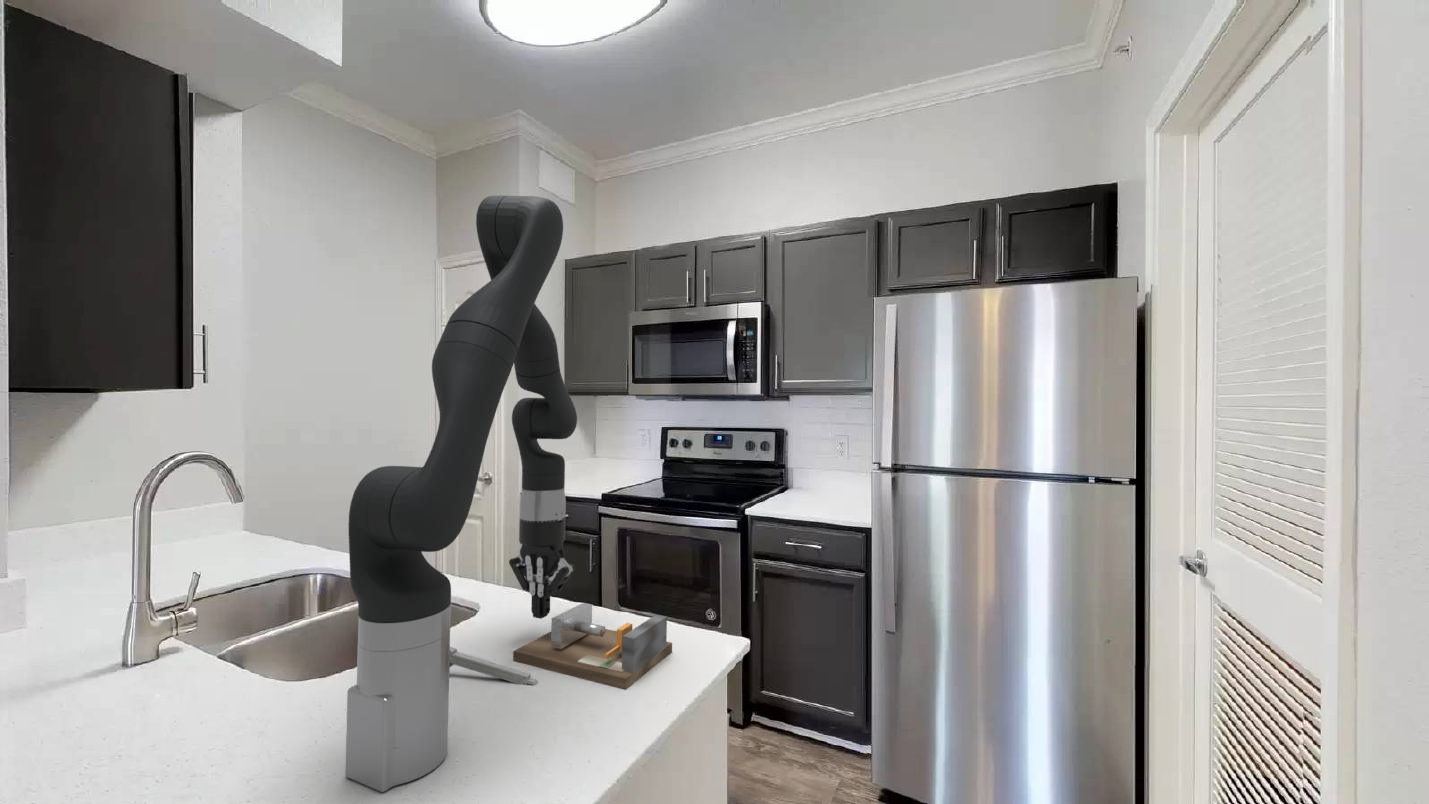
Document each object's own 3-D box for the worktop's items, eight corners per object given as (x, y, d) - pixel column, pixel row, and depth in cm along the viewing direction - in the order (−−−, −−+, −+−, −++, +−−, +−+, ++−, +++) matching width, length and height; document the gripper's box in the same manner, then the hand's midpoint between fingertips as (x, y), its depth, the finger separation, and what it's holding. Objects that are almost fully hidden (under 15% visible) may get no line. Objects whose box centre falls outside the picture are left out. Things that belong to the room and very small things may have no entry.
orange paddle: (608, 659, 85) (609, 638, 85) (603, 657, 86) (603, 637, 86) (632, 643, 91) (632, 623, 91) (626, 641, 92) (627, 622, 92)
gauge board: (625, 689, 82) (626, 643, 82) (513, 660, 90) (513, 619, 90) (671, 651, 95) (672, 612, 95) (569, 629, 103) (570, 593, 103)
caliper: (407, 674, 86) (408, 632, 86) (412, 671, 87) (413, 630, 87) (535, 687, 82) (535, 643, 83) (538, 683, 84) (539, 640, 84)
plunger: (587, 655, 88) (587, 625, 88) (551, 646, 91) (551, 618, 91) (616, 636, 96) (616, 609, 96) (582, 629, 98) (582, 603, 98)
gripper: (496, 514, 97) (494, 617, 96) (559, 522, 91) (556, 631, 91) (528, 508, 103) (526, 603, 103) (587, 514, 98) (586, 616, 98)
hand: (540, 616), depth 97 cm, fingers closed
